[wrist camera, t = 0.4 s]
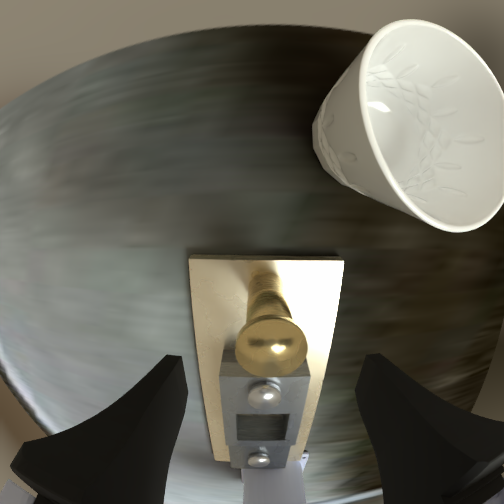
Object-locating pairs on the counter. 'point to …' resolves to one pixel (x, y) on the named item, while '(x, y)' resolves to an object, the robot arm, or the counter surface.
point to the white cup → (417, 127)
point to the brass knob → (270, 331)
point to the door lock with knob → (251, 386)
